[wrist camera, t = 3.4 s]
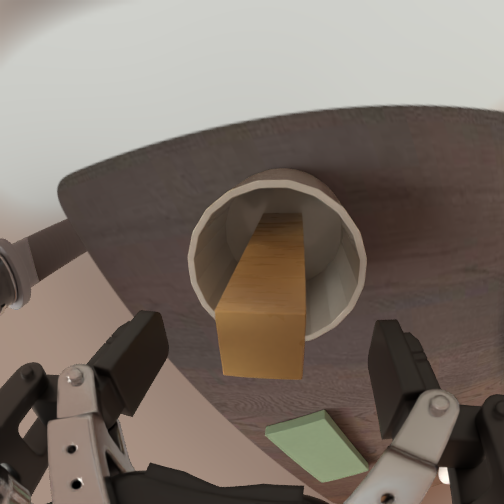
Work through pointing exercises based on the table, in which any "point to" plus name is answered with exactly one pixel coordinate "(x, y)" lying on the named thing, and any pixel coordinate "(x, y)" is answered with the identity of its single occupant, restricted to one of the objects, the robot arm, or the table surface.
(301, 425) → the green rectangular block
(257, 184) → the tin
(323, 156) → the table surface
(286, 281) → the stick
